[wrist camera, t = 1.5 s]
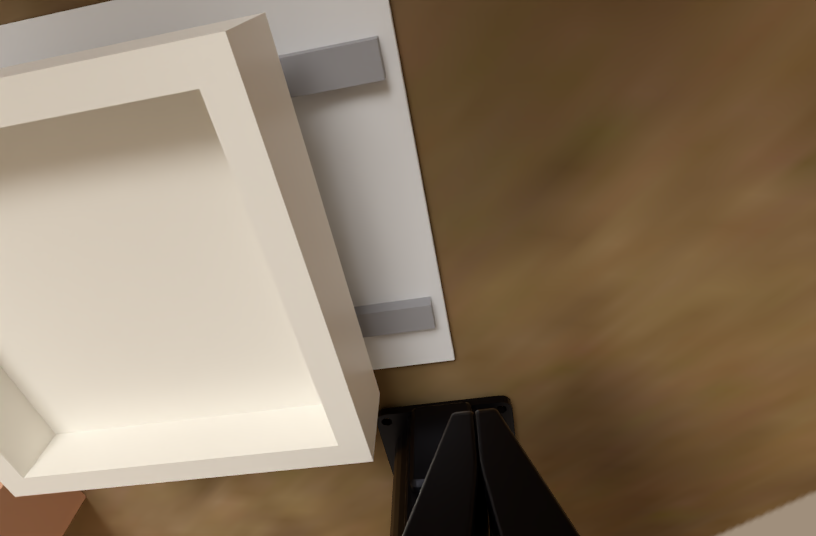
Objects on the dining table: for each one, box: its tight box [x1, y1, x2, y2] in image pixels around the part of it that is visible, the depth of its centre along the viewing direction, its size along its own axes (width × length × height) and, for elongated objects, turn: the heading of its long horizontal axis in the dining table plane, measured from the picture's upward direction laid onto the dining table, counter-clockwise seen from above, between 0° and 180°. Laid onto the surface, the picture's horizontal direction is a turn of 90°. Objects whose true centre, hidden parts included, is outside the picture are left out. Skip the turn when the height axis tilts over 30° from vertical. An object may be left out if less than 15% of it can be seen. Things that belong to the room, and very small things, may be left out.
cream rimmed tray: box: [0, 12, 380, 497], centre depth 17 cm, size 14×14×5 cm
